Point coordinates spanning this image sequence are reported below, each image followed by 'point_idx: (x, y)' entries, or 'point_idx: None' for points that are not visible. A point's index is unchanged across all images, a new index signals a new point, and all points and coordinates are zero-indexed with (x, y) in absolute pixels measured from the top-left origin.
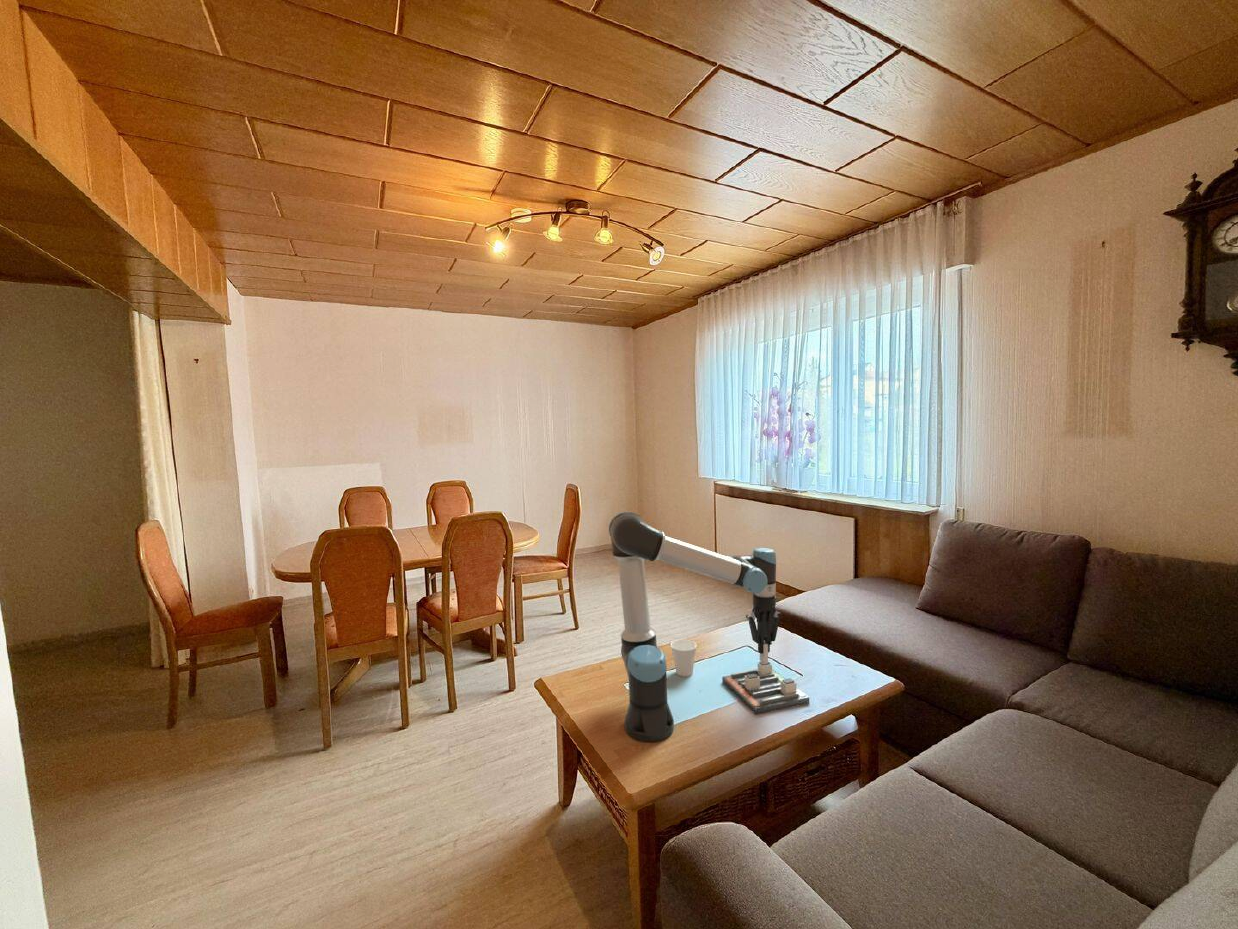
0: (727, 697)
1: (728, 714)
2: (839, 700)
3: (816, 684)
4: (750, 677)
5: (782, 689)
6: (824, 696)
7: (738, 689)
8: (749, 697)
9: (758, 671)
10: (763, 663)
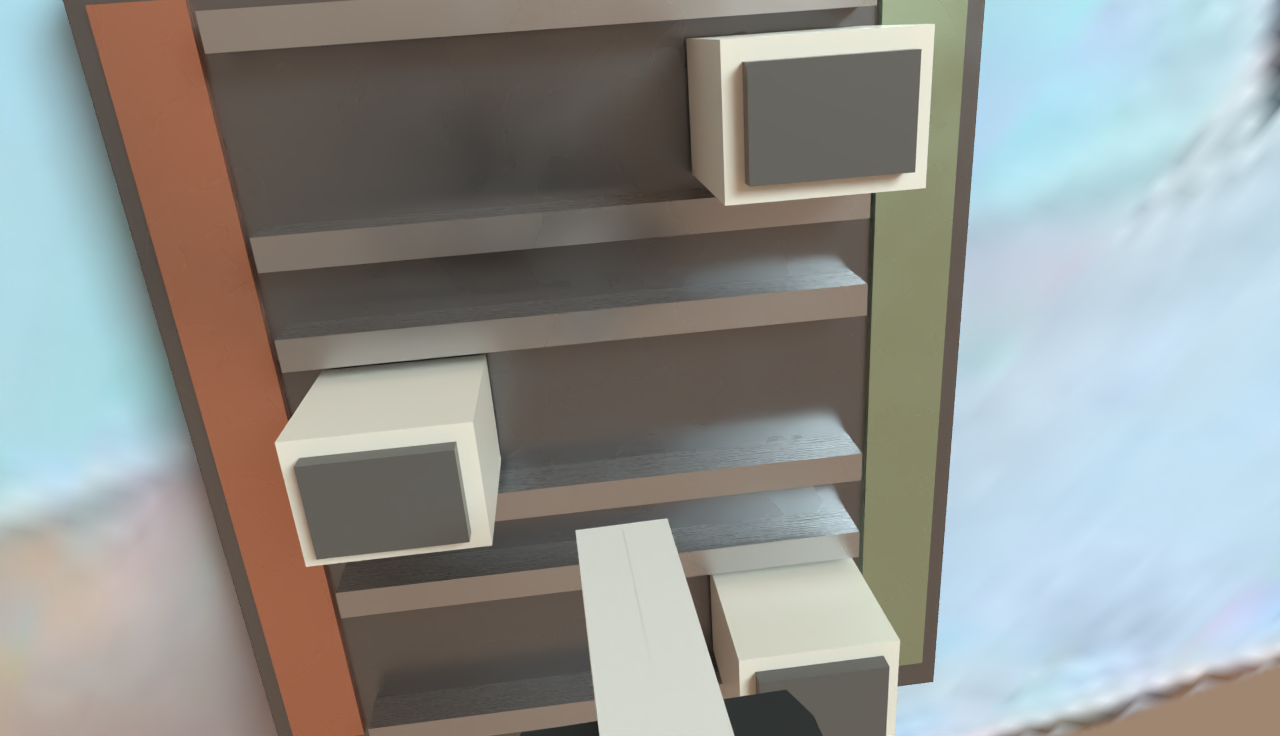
0: (82, 369)
1: (16, 666)
2: (1185, 644)
3: (1243, 349)
4: (334, 550)
5: (720, 628)
6: (1123, 566)
7: (210, 403)
8: (293, 592)
9: (694, 61)
10: (788, 154)
